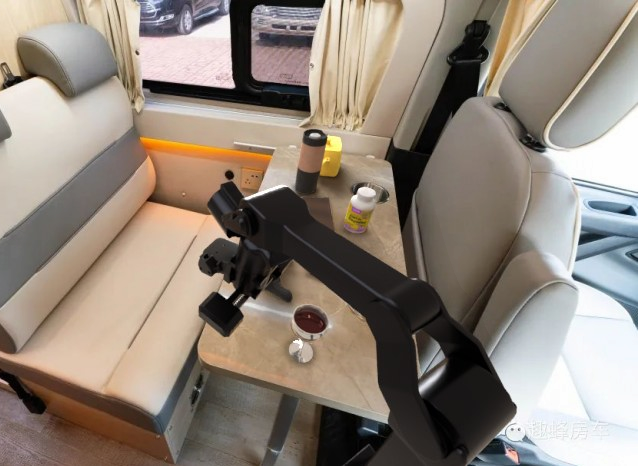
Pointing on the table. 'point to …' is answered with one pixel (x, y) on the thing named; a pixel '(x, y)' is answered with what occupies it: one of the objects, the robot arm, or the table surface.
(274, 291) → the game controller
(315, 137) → the travel mug
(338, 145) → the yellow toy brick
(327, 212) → the chute
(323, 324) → the wineglass
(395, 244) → the table surface
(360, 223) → the supplement bottle
